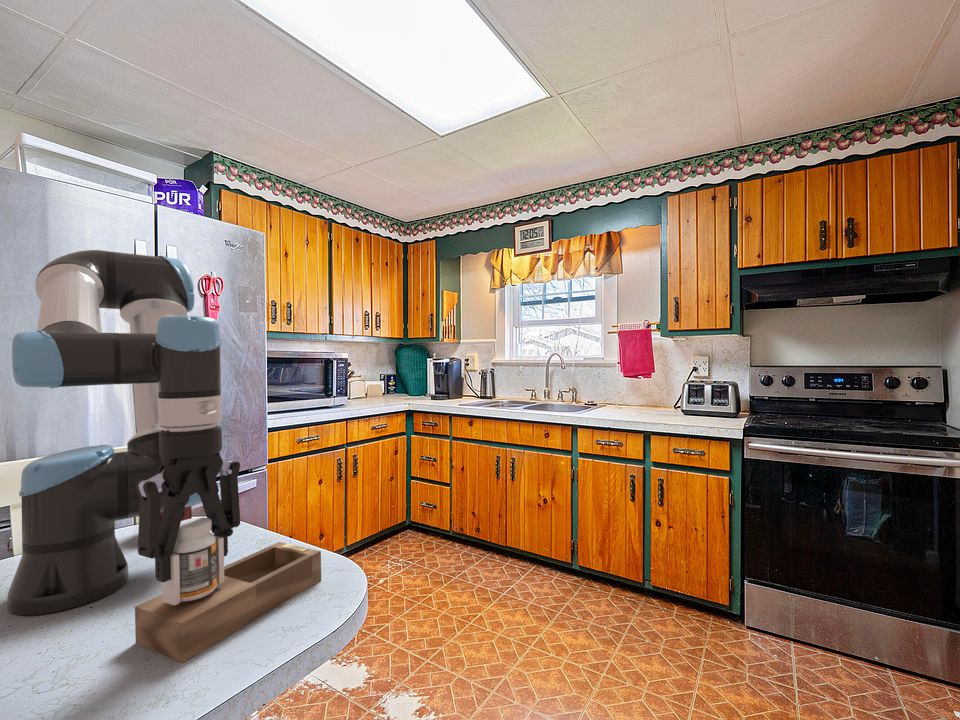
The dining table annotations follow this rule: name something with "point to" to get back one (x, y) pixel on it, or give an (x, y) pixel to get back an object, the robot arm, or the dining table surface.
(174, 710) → the dining table surface
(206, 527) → the pill bottle
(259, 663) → the dining table surface
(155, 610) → the brown wooden open box
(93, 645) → the dining table surface
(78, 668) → the dining table surface
